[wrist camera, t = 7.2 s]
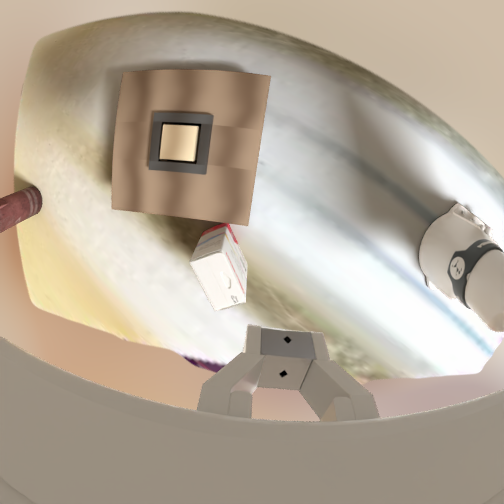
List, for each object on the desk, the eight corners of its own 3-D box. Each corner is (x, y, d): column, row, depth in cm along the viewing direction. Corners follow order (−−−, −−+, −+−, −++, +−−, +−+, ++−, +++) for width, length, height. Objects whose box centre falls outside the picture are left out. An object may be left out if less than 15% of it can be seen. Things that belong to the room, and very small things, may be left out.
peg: (210, 129, 38) (197, 126, 30) (206, 156, 40) (193, 161, 31) (182, 127, 38) (163, 124, 29) (179, 154, 39) (159, 158, 31)
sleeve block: (268, 87, 35) (271, 74, 27) (249, 210, 43) (247, 228, 35) (144, 81, 35) (119, 71, 26) (133, 197, 43) (108, 211, 34)
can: (47, 197, 42) (0, 218, 29) (37, 219, 44) (-6, 243, 31) (32, 179, 41) (-14, 196, 28) (23, 201, 42) (-20, 221, 30)
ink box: (202, 230, 45) (184, 260, 34) (230, 219, 44) (220, 247, 33) (223, 274, 48) (213, 313, 37) (249, 265, 47) (247, 303, 36)
